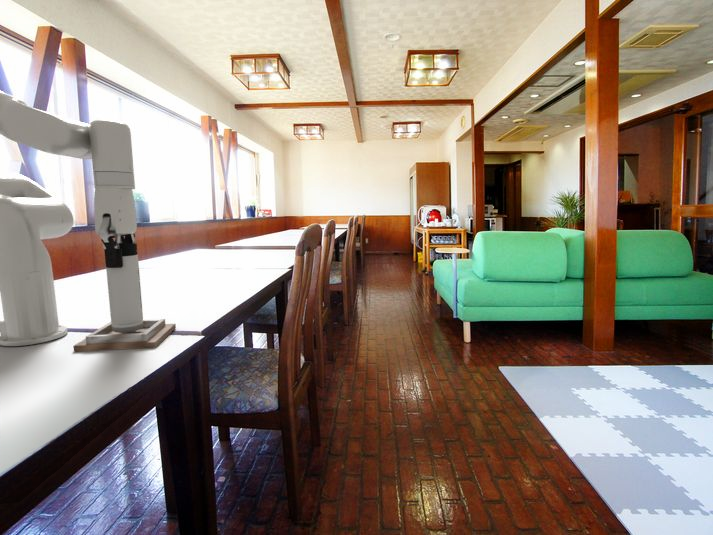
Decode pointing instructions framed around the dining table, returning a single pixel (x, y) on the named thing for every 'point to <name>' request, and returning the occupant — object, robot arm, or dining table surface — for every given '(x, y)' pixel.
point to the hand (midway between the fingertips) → (121, 264)
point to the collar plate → (127, 337)
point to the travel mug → (125, 292)
